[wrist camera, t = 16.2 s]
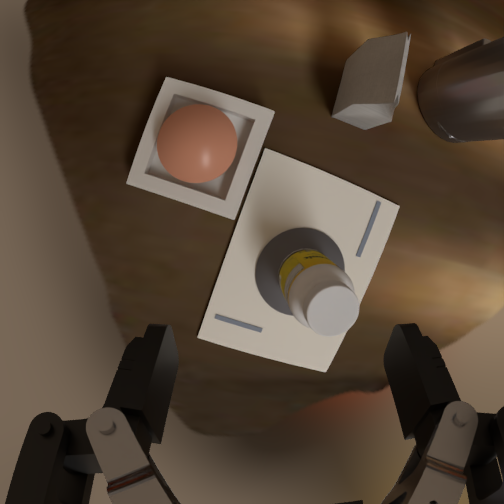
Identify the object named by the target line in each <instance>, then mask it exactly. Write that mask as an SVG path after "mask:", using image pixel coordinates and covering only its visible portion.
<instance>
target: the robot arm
mask: <svg viewBox="0 0 504 504" xmlns="http://www.w3.org/2000/svg"><path fill="white" fill-rule="evenodd" d="M417 95H418V103H419V106H420V110H421V112H422V115H423V117H424V119H425V121H426V122H427V124H428V125H429V127H430V128H431V129H432V130H433V131H434V133H435V134H437V135H438V136H439V137H440V138H442V139H444V140H446V141H449V142H453V143H457V142H469V141H484V140H498V139H504V37H502V38H500V39H497V40H495V41H492V42H491V41H490V40H488V39H482V40H480V41H477V42H475V43H473V44H471V45H468V46H466V47H464V48H462V49H460V50H458V51H455V52H453V53H451V54H449V55H447V56H445V57H443V58H441V59H439V60H436V61H435V65H434V67H433V68H431V69H429V70H427V71H426V72H425V73H424V74H423V75H422V77H421V78H420V81H419V84H418V94H417ZM384 368H385V371H386V374H387V378H388V381H389V384H390V388H391V391H392V394H393V398H394V402H395V405H396V409H397V413H398V416H399V420H400V423H401V428H402V431H403V435H404V439H405V440H406V439H412V438H415V440H416V445H415V446H414V448H413V450H412V453H411V455H410V456H409V458H408V460H407V463H406V465H405V467H404V468H403V471H402V472H401V474H400V476H399V478H398V480H397V482H396V483H395V485H394V487H393V488H392V490H391V491H390V492H389V493H388V495H387V496H386V497H385V499H384V500H383V501H382V503H381V504H458V502H459V499H460V497H461V494H462V492H463V489H464V487H465V484H466V486H467V492H468V498H469V504H504V407H502V408H501V409H500V410H499V411H498V412H497V414H489V413H477V412H476V411H475V409H474V408H473V407H472V406H471V405H470V404H468V403H466V402H463V401H461V400H460V398H459V395H458V393H457V390H456V388H455V385H454V383H453V381H452V378H451V376H450V374H449V372H448V369H447V367H445V362H444V360H443V359H442V356H441V354H440V351H439V349H438V347H437V345H436V344H435V343H434V342H433V341H432V340H431V339H430V338H429V337H428V336H422V334H421V332H420V330H419V328H418V326H417V324H415V323H411V324H397V325H395V327H394V329H393V332H392V334H391V337H390V340H389V342H388V345H387V348H386V350H385V353H384ZM177 370H178V351H177V347H176V343H175V339H174V335H173V331H172V328H171V326H170V325H162V324H149V325H148V327H147V329H146V332H145V335H144V337H143V338H141V337H135V338H134V339H133V340H132V341H131V342H130V343H129V344H128V346H127V347H126V349H125V351H124V354H123V356H122V361H120V364H119V366H118V370H117V372H116V374H115V377H114V380H113V382H112V385H111V387H110V390H109V393H108V396H107V398H106V401H105V404H104V406H103V407H102V408H101V409H99V410H96V411H95V412H93V413H92V414H91V415H90V417H89V418H87V419H81V420H70V421H69V420H68V421H62V420H61V418H60V417H59V416H58V415H56V414H55V413H51V412H44V413H41V414H39V415H37V416H36V417H35V418H34V419H33V420H32V422H31V424H30V426H29V429H28V431H27V434H26V437H25V440H24V443H23V446H22V448H21V451H20V455H19V458H18V461H17V464H16V467H15V470H14V473H13V477H12V480H11V484H10V487H9V491H8V495H7V498H6V502H5V504H89V500H90V495H91V489H92V485H93V480H94V475H95V473H103V474H104V476H105V478H106V481H107V483H108V487H107V492H108V495H109V498H110V500H111V502H112V504H181V503H180V502H179V501H178V499H177V498H176V497H175V496H174V494H173V492H172V491H171V489H170V487H169V486H168V485H167V483H166V481H165V479H164V478H163V476H162V475H161V473H160V471H159V470H158V468H157V466H156V465H155V463H154V461H153V459H152V457H151V456H150V454H149V450H150V446H151V443H157V444H161V441H162V436H163V432H164V427H165V422H166V418H167V413H168V409H169V404H170V400H171V396H172V391H173V387H174V383H175V378H176V374H177ZM496 457H498V461H499V465H500V469H501V473H502V477H503V483H502V479H501V474H500V471H499V467H498V463H497V459H496ZM338 504H363V501H362V500H360V501H353V502H345V503H338Z"/></svg>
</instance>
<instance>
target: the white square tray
mask: <svg viewBox="0 0 504 504" xmlns="http://www.w3.org/2000/svg"><path fill="white" fill-rule="evenodd" d="M194 104H203V105H208V106H212V107H214V108H217V109H218V110H220V111H222V112H223V113H224V114H225V115H226V116H227V117H228V118H229V119H230V120H231V122H232V124H233V125H234V128H235V130H236V134H237V150H236V155H235V158H234V160H233V162H232V164H231V165H230V167H229V168H228V169H227V170H226V171H225V172H224V173H223V174H222V175H221V176H219V177H218V178H216V179H214V180H211V181H208V182H203V183H189V182H185V181H181V180H179V179H177V178H175V177H173V176H172V175H171V174H170V173H169V172H168V171H167V170H166V169H165V168H164V167H163V165H162V163H161V162H160V159H159V156H158V152H157V138H158V134H159V131H160V129H161V127H162V125H163V123H164V122H165V121H166V119H167V118H168V117H169V116H170V115H171V114H172V113H174V112H175V111H177V110H179V109H180V108H183V107H185V106H189V105H194ZM274 113H275V111H273V110H270V109H267V108H265V107H262V106H259V105H256V104H254V103H251V102H248V101H245V100H242V99H239V98H236V97H233V96H230V95H227V94H224V93H221V92H218V91H215V90H211V89H208V88H205V87H201V86H198V85H194V84H191V83H187V82H184V81H180V80H176V79H173V78H169V77H166V78H165V80H164V83H163V85H162V87H161V90H160V92H159V95H158V97H157V99H156V102H155V104H154V107H153V109H152V112H151V114H150V117H149V119H148V122H147V125H146V127H145V130H144V133H143V135H142V138H141V141H140V144H139V147H138V149H137V152H136V155H135V158H134V161H133V164H132V167H131V170H130V173H129V176H128V180H127V183H126V184H129V185H132V186H135V187H138V188H141V189H144V190H147V191H150V192H153V193H156V194H159V195H162V196H165V197H168V198H171V199H174V200H177V201H180V202H183V203H186V204H189V205H192V206H195V207H198V208H201V209H204V210H207V211H209V212H212V213H215V214H218V215H221V216H224V217H227V218H230V219H232V220H235V217H236V215H237V212H238V209H239V206H240V204H241V201H242V198H243V195H244V193H245V190H246V187H247V185H248V182H249V179H250V176H251V174H252V171H253V168H254V166H255V163H256V160H257V158H258V155H259V152H260V150H261V147H262V144H263V142H264V139H265V136H266V134H267V131H268V129H269V126H270V123H271V121H272V118H273V116H274Z"/></svg>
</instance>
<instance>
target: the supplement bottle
mask: <svg viewBox="0 0 504 504" xmlns="http://www.w3.org/2000/svg"><path fill="white" fill-rule="evenodd" d="M278 282H279V286H280V288H281V291H282V293H283V295H284V297H285V299H286V301H287V303H288V306H289V308H290V310H291V312H292V314H293V315H294V317H295V318H296V320H297V321H298V322H300V323H301V324H302V325H304V326H306V327H308V328H311V329H312V330H313V331H314V332H315V333H317V334H319V335H321V336H326V337H332V336H337V335H340V334H342V333H344V332H346V331H347V330H348V329H349V328H350V327H351V326H352V325H353V324H354V323H355V321H356V319H357V317H358V314H359V301H358V298H357V296H356V295H355V291H354V286H353V283H352V281H351V279H350V277H349V276H348V275H347V274H346V273H345V271H343V270H342V269H341V268H340V267H338V266H337V265H336V264H334V263H333V262H332V261H331V260H330V259H328V258H327V257H326V256H325V255H323V254H322V253H320V252H319V251H317V250H314V249H299V250H296V251H294V252H292V253H291V254H289V255H288V256H287V257H286V258H285V259H284V260H283V262H282V264H281V266H280V268H279V272H278Z"/></svg>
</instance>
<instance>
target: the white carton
mask: <svg viewBox="0 0 504 504" xmlns="http://www.w3.org/2000/svg"><path fill="white" fill-rule="evenodd" d="M410 37H411V34H410V35H409V37H408V35H407V32H404V33H401V34H396V35H391V36H385V37H379V38H373V39H368V40H367V41H366V42H365V43H364V44H363V45H362V46H361V47H359V48H358V49H357V50H356V51H355V52H354V53H353V54H352V55H351V56H350V57H349V58H348V59H347V60H346V63H345V67H344V71H343V75H342V79H341V83H340V87H339V90H338V94H337V98H336V102H335V105H334V109H333V113H332V116H331V117H334V118H336V119H339V120H341V121H344V122H346V123H349V124H352V125H354V126H356V127H359V128H361V129H364V130H366V129H369V128H372V127H375V126H378V125H381V124H384V123H387V122H391V121H392V117H393V112H394V109H395V107H396V106H397V105H398V103H399V99H400V94H401V89H402V84H403V78H404V73H405V68H406V62H407V56H408V50H409V44H410Z"/></svg>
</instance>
